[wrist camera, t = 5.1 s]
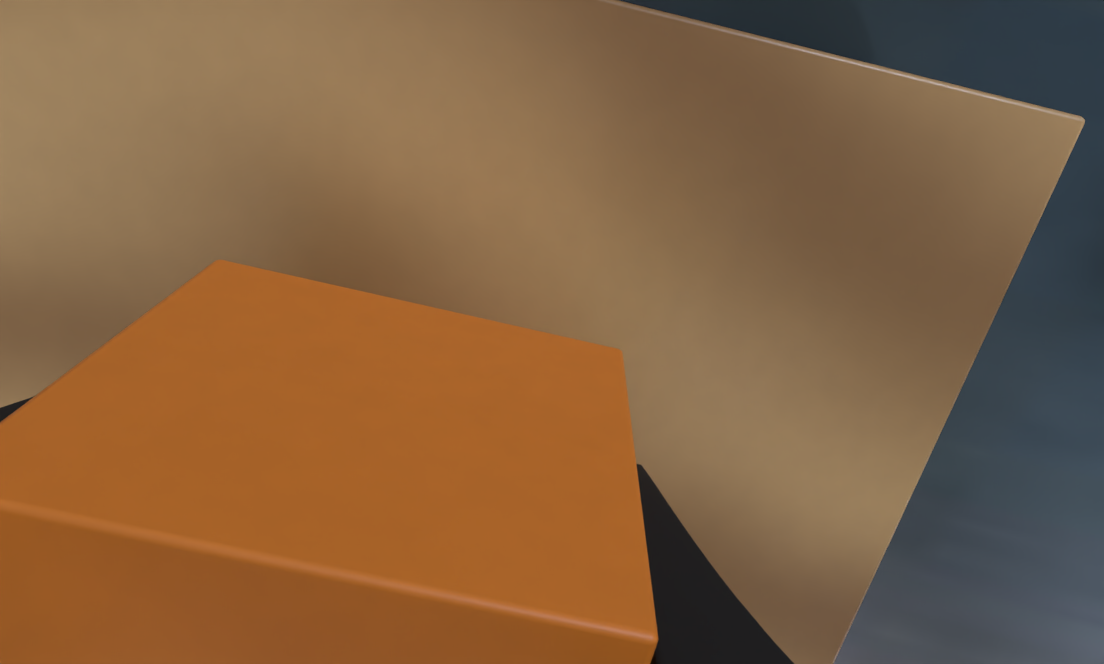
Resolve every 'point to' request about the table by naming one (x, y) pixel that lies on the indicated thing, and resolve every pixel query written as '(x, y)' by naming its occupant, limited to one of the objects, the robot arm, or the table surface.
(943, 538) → the table surface
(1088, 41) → the table surface
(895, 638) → the table surface
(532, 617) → the plain orange block
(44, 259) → the cabinet
